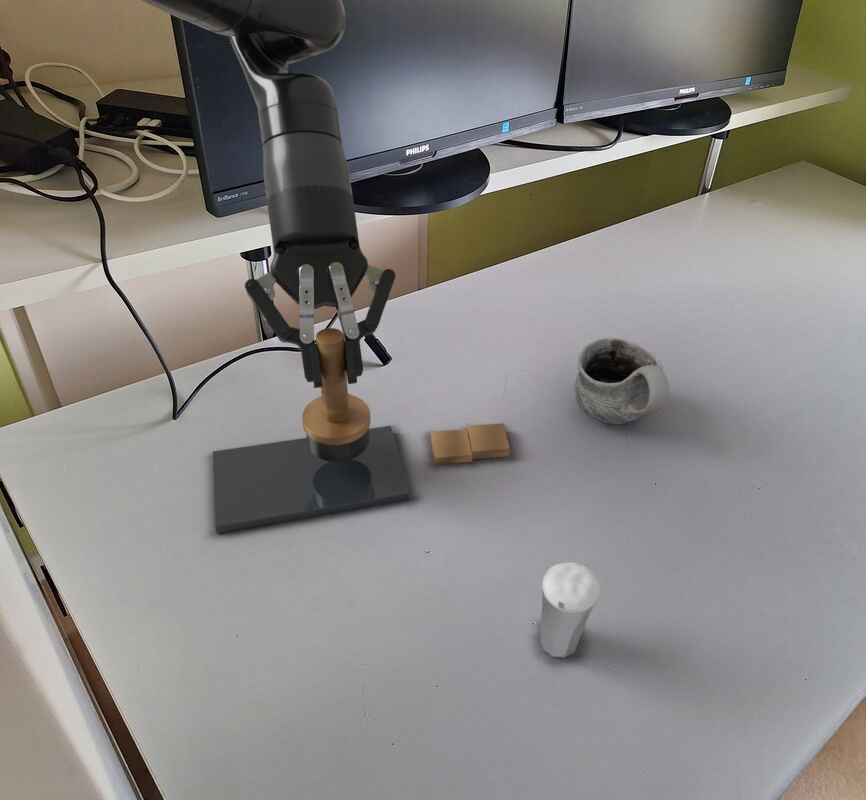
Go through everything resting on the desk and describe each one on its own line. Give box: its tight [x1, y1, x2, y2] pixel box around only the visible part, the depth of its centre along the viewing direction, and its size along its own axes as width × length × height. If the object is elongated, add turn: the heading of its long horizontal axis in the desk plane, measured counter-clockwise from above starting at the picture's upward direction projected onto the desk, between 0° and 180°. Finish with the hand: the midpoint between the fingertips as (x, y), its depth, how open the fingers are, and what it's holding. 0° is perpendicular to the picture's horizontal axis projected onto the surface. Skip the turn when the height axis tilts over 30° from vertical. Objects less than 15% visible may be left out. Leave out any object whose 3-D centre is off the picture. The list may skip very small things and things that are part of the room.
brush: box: [301, 327, 372, 462], centre depth 71 cm, size 6×6×13 cm
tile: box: [212, 425, 410, 534], centre depth 76 cm, size 18×10×1 cm, turn 109°
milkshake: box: [539, 561, 601, 659], centre depth 62 cm, size 4×5×10 cm
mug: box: [574, 336, 670, 425], centre depth 85 cm, size 10×12×10 cm
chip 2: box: [466, 423, 510, 460], centre depth 82 cm, size 4×4×1 cm
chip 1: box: [430, 428, 473, 466], centre depth 81 cm, size 4×4×1 cm
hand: (335, 384), depth 68 cm, fingers closed on brush, 2 cm apart
